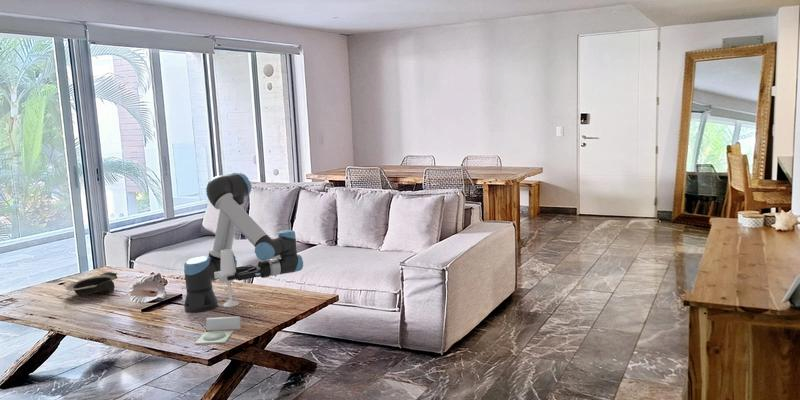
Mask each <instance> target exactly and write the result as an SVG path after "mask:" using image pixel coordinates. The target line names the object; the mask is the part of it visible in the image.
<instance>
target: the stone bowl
mask: <svg viewBox="0 0 800 400" xmlns="http://www.w3.org/2000/svg"><path fill="white" fill-rule="evenodd" d="M117 274H118V273H117V272H110V271H109V272H104V273H101V274H99V275H94V276H91V277H87V278H83V279H80V280H77V281H75V282H73V283H70V284H69V285H68V286H67V287H65V289H66V290H67V291H74V293H75V294H76V295H77V296H78V295H79V296H78V297H81V296H89V295H91V294H95V293H102V292H103V293H102V294H104V295H109V294H108V293H110V294H111V293H113V291H114V290H115V282H114V280H116V279H118V276H117Z"/></svg>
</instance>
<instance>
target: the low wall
mask: <svg viewBox="0 0 800 400" xmlns="http://www.w3.org/2000/svg"><path fill="white" fill-rule="evenodd" d="M205 322H206V323H205V324H206V332H211V331H231V330H241V329H242V323H241V322H242V321H241V316H222V317H207V318H206V319H205Z"/></svg>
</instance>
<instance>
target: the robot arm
mask: <svg viewBox="0 0 800 400" xmlns="http://www.w3.org/2000/svg"><path fill="white" fill-rule="evenodd" d="M249 179H250V178H248V176H247V175H246V174H244V173H242V172H232V173H229V174H222V175H216V176H214V177H212V178H211V179H210V180H209V181H208V182H207V184H206V187H205V191H206V193H205V194H206V197H207V200H208V201H209V202H210V204H211V205H212V206H213V207H214V208H215V210H219V213H218V218H217V219H218V220H217V225H216V231H215V235H214V236H215V237H214V241H213V246H212V247H211V248H210V249H209V251H208V252H209V253H208V256H207V255H202V256H201V255H200V256H196V257H192V258H189V259H188V260H186V261H185V262H184V265H183V268H184V269H183V273H184V279H185V287H186V289H185V290H186V296H185V301H184V303H183V304H184V306H183V307H184V311H186V312H189V313H200V312H206V311H210V310H213V309H215V308H216V307H218V306H219V303H218V302H219V301H218V298H217V296H216V294H215V292H214V289H213V282H214V281H218V283H220V284H221V283H224V282H225V283H227V282H226V281H231V280H233V281H234V280H235V281H238V282H239V281H244V280H248V279H254V278H259V277H260V278H262V279H264V278H269V277H277V276H278V275H284V274H285V275H286V274H292V273H296V272H300V271H302V270H303V267H304V261H303V257H302V255H301V254H298V251H297V238H296V232H295V230H292V229H283V230H279V232H278V235H277V237H275V238H271V237H270V236H269V235H268V234H267V233H266V231H264V229H263V228H262V227H261V226H260V225H259V224H258V223H257V222H256V221H255V220H254V219H253V218H252V217H251V216H250V215H249V214H248V212H246V210H244V209H243V207H242V205H243V204H244V202H245V198H246V197H247V196H249V195H250V194H251V192H252V183H251V181H250V180H249ZM236 228H237V230H239V231H240V233H241V234H242V235H243V236H244V237H245V238H246V240H248V241H249V243H251V244H252V246H253V247H254V254H255V256H256V257H257V259H259V260H260V261H258V263H257V265H252V264H248V265H243V266H238V261H237V259H236V258H237V257H236V256H235V253H234V251H233V249H232V248H233V244H234V243H233V242H234V238H235V232H236ZM225 249H231V250H232V252H233V258H234V263H235V269H236V272H235V275H234V273H233V274H227V275H222V276H220V271H221V250H225ZM277 256H280V257H277ZM275 257H277V258H275Z"/></svg>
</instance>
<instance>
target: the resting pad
mask: <svg viewBox="0 0 800 400" xmlns="http://www.w3.org/2000/svg"><path fill="white" fill-rule="evenodd" d="M233 333H234V330H215V331H205V332H203V333H202V335H200V337H199V338H198V339H197V340H196V342H194V345H195V346H196V345H211V344H213V345H215V344H225V343H227V341H228V340H229V339H230V338H231V336H232V335H233Z"/></svg>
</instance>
